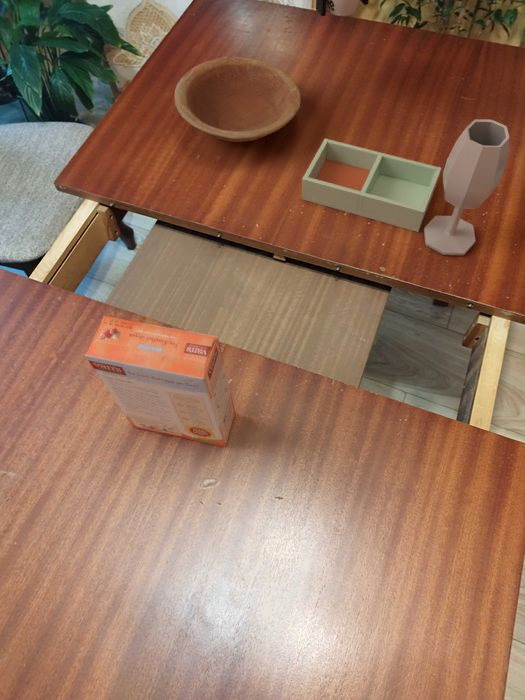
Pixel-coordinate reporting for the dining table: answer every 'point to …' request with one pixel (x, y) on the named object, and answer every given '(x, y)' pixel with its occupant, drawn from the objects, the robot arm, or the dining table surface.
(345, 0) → the cup
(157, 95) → the dining table surface
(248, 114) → the bowl
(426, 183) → the divided tray
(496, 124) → the wineglass
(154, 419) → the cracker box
